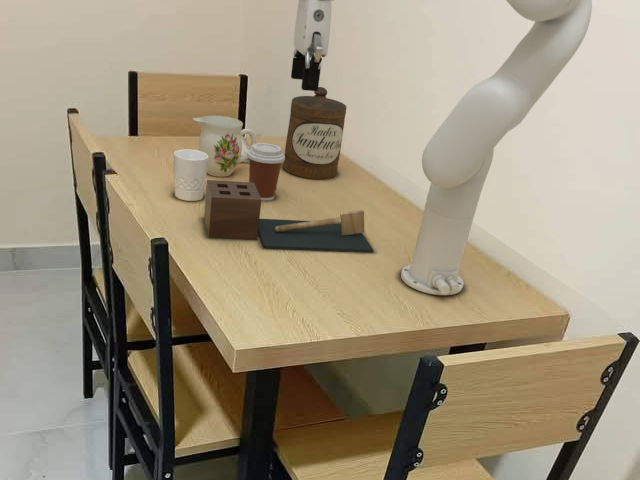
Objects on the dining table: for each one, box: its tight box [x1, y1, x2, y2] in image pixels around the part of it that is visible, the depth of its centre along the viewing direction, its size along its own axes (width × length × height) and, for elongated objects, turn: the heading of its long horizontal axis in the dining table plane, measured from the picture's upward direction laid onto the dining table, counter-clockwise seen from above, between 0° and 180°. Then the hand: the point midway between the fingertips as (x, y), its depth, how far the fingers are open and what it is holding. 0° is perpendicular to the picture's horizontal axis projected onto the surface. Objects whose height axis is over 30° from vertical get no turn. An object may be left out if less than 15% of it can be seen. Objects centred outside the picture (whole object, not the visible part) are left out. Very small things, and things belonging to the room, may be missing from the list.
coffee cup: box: [247, 142, 285, 202], centre depth 178 cm, size 9×9×12 cm
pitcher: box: [192, 115, 257, 177], centre depth 189 cm, size 11×18×14 cm, turn 119°
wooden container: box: [282, 86, 347, 180], centre depth 197 cm, size 15×15×22 cm
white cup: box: [173, 148, 208, 202], centre depth 172 cm, size 8×8×10 cm
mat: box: [258, 218, 374, 253], centre depth 163 cm, size 15×24×1 cm, turn 100°
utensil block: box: [203, 179, 262, 241], centre depth 159 cm, size 10×10×9 cm
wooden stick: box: [275, 209, 365, 236], centre depth 162 cm, size 1×5×20 cm
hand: (303, 84), depth 147 cm, fingers open, 9 cm apart
